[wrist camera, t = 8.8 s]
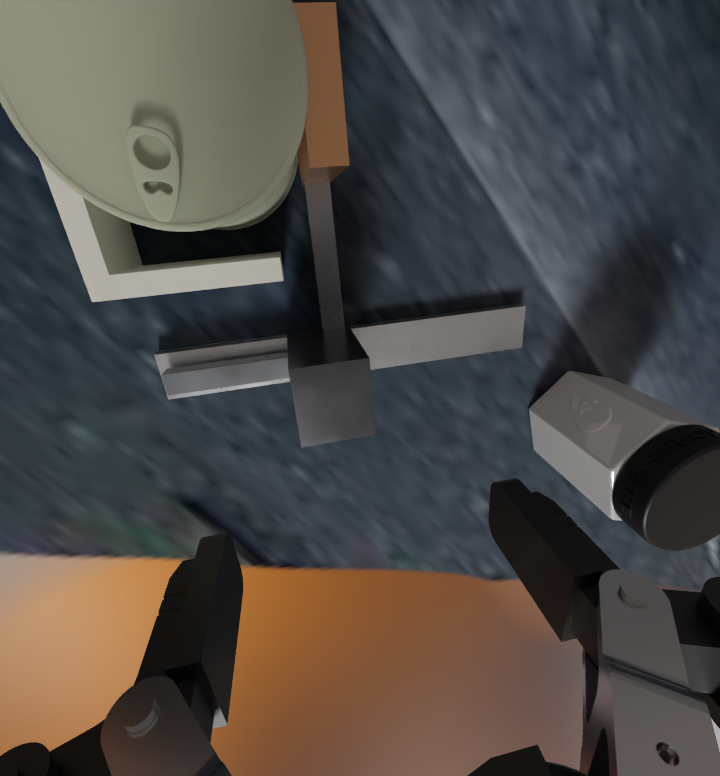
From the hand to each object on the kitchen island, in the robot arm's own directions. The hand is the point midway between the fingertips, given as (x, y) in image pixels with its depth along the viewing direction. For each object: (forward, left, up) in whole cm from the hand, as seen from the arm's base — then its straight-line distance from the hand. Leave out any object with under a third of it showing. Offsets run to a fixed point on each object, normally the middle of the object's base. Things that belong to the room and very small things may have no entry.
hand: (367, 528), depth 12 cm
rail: (-2, 0, -18) cm, 18 cm away
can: (+4, -13, -18) cm, 23 cm away
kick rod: (+4, -7, -17) cm, 18 cm away
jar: (-21, +9, -18) cm, 29 cm away
